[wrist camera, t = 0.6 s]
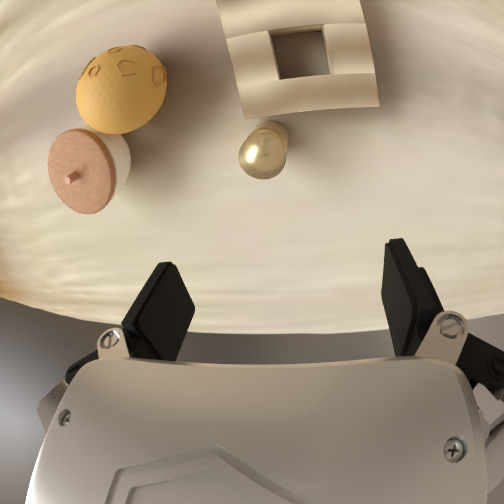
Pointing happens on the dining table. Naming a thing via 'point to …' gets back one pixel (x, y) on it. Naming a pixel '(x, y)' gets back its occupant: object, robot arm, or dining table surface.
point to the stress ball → (121, 89)
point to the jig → (302, 88)
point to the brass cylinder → (264, 150)
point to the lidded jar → (88, 168)
